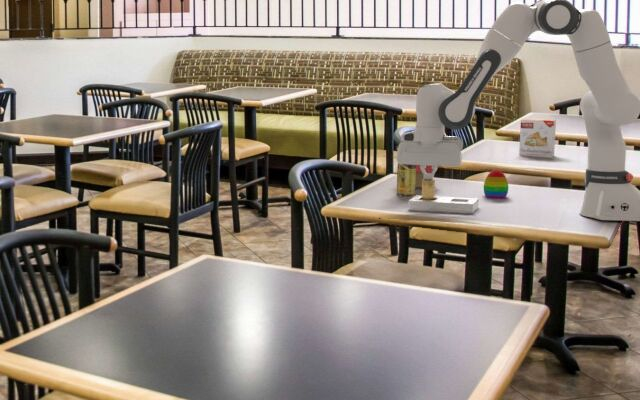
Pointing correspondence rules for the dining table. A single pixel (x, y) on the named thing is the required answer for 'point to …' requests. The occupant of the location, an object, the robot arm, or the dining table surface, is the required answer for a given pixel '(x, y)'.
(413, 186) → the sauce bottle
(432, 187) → the brass cylinder
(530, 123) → the cracker box
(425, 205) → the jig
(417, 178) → the decorative mushroom
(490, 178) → the decorative egg
